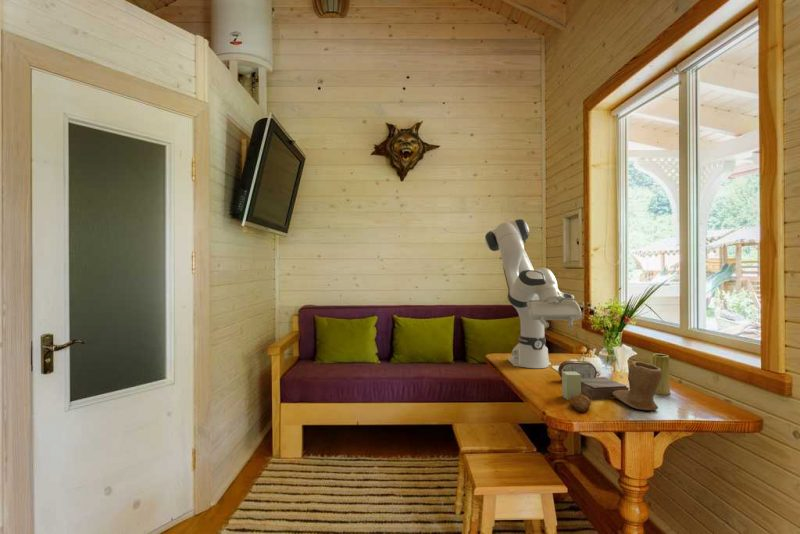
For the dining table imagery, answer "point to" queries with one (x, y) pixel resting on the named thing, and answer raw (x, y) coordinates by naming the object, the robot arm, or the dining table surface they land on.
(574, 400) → the brown rounded lump
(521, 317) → the robot arm
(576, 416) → the dining table surface
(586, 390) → the plinth
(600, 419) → the dining table surface
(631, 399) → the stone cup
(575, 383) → the block
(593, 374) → the tin
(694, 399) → the dining table surface
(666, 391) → the vase
